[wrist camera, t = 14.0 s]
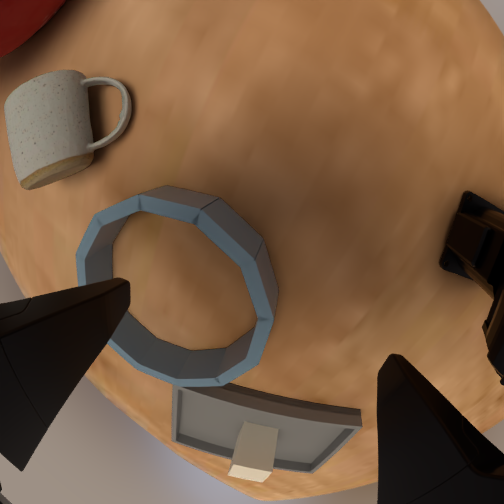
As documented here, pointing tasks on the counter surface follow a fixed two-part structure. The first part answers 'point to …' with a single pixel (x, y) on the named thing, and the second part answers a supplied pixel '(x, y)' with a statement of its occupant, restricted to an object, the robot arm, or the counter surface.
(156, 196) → the blue ring
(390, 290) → the counter surface
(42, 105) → the ceramic mug
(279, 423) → the tray
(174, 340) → the counter surface
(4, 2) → the mixing bowl
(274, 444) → the beige rectangular block
